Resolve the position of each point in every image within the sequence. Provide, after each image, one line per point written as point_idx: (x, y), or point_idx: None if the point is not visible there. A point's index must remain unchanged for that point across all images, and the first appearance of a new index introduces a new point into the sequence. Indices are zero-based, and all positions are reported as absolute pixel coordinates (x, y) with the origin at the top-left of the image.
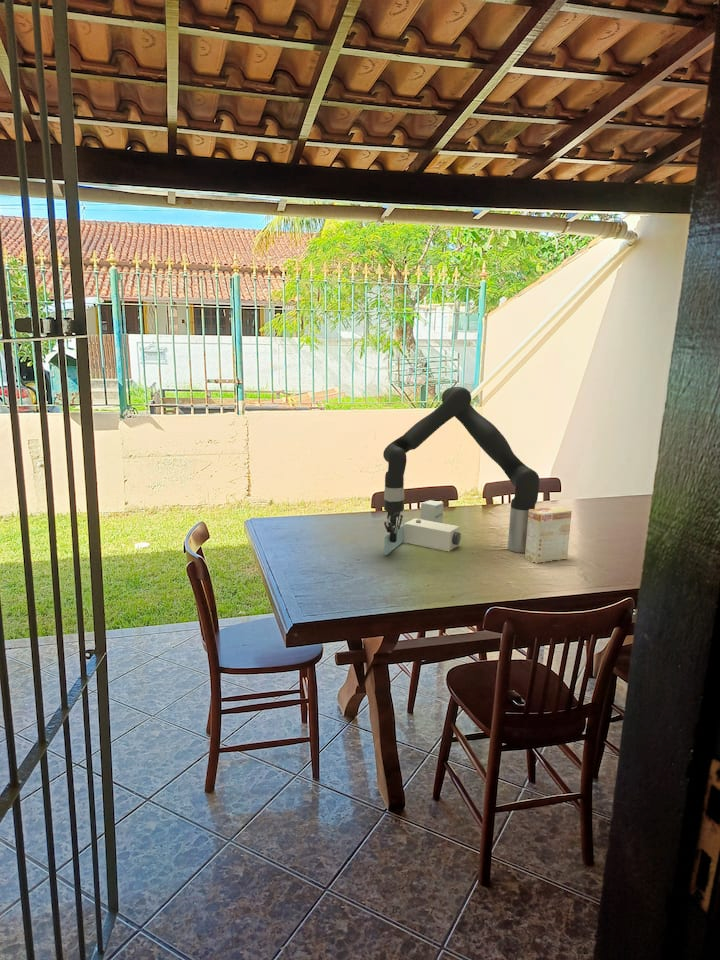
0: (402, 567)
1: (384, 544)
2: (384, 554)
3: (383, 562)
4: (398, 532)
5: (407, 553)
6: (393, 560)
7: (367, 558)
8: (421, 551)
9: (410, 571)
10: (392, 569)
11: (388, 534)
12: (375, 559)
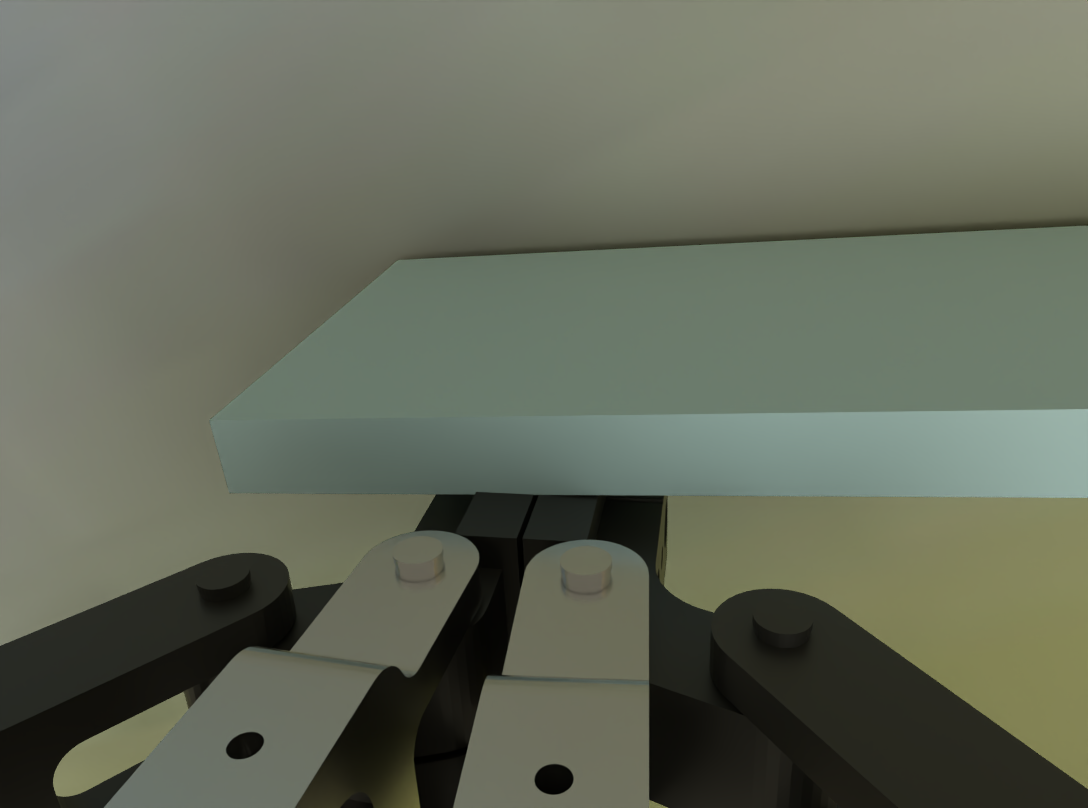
0: None
1: (311, 334)
2: (397, 267)
3: (158, 362)
4: None
5: (790, 548)
6: None
7: (116, 11)
8: (1010, 710)
9: (142, 758)
10: (35, 568)
11: (510, 423)
12: (178, 179)
